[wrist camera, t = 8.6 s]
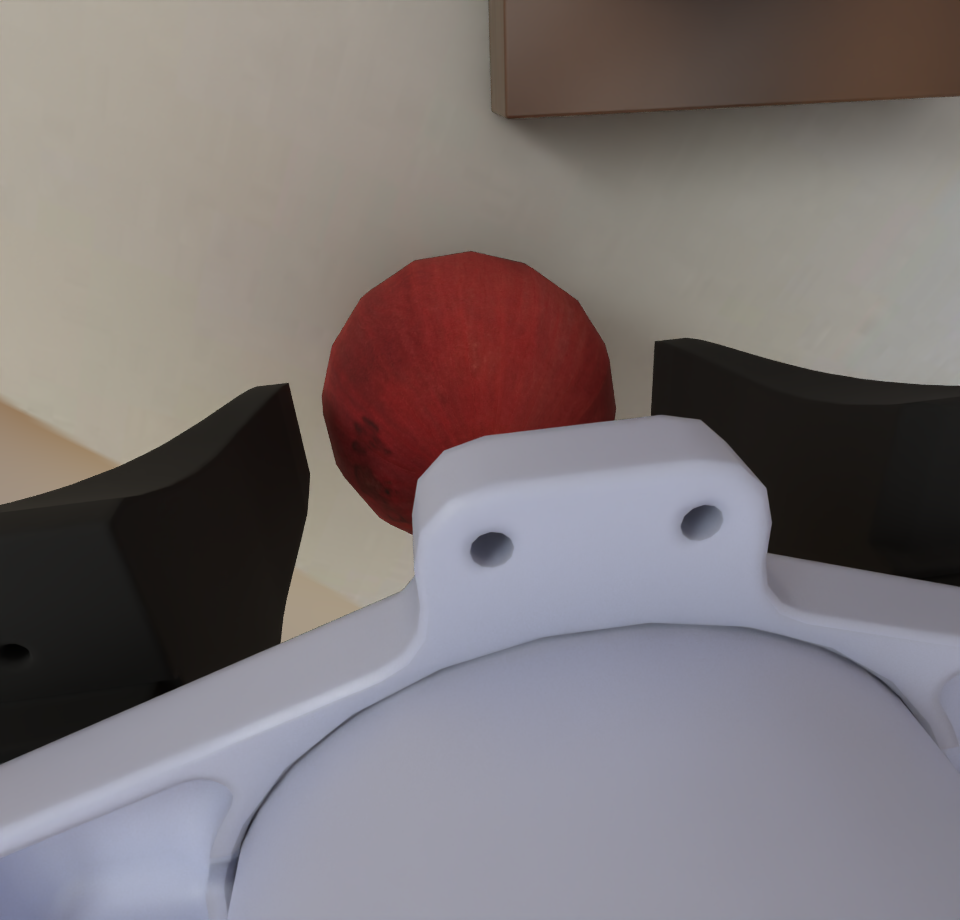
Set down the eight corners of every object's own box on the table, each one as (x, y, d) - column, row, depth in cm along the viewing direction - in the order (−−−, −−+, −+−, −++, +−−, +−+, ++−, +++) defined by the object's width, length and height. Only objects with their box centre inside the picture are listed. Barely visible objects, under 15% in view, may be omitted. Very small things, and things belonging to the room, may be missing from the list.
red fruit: (482, 475, 19) (531, 700, 13) (295, 374, 17) (230, 577, 10) (613, 304, 17) (758, 461, 10) (418, 166, 15) (438, 249, 8)
